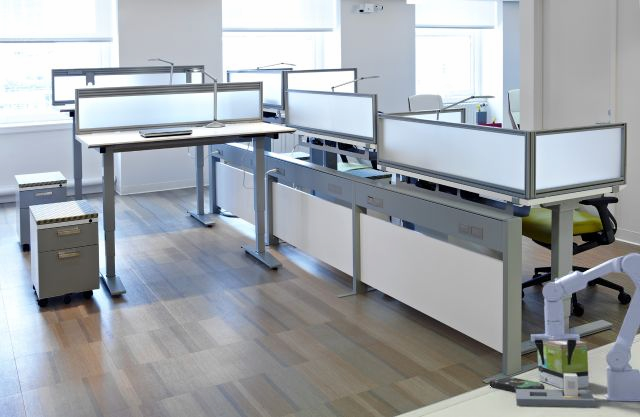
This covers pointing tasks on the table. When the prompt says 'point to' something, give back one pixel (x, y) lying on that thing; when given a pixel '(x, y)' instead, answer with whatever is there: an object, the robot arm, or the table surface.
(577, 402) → the panel
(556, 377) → the tea box
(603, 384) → the table surface
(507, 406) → the table surface
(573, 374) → the plug
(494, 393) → the table surface
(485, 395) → the table surface
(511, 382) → the disk drive
